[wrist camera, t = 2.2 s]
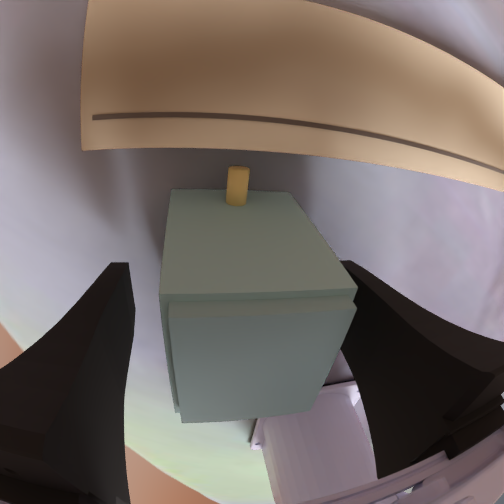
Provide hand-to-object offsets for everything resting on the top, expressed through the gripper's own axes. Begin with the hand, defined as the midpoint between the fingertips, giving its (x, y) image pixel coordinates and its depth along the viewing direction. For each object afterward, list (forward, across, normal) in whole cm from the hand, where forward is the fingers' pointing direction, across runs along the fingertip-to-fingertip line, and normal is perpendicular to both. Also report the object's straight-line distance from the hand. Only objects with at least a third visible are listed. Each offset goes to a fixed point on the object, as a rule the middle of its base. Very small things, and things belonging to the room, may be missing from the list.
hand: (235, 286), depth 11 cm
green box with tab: (+3, 0, 0) cm, 3 cm away
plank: (+3, -6, -7) cm, 10 cm away
